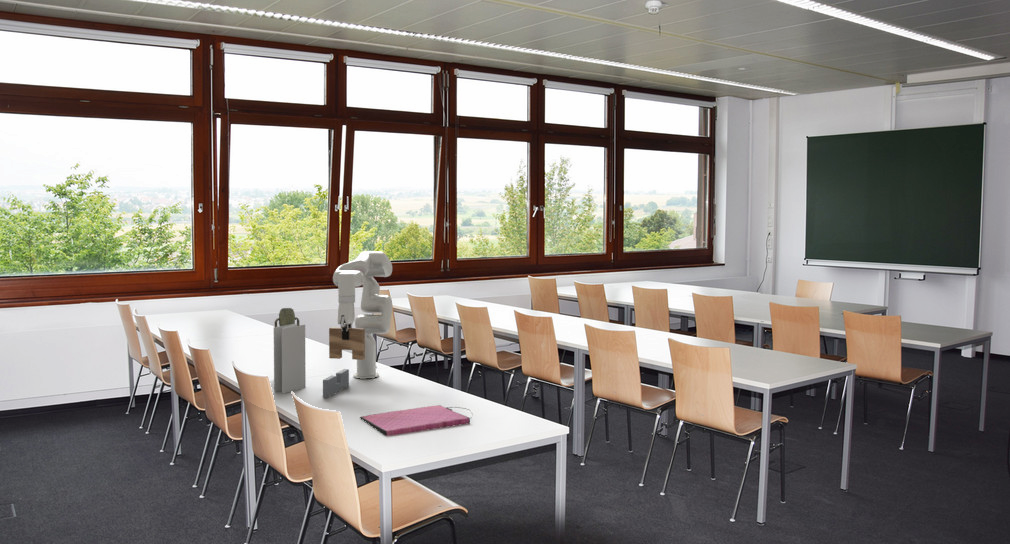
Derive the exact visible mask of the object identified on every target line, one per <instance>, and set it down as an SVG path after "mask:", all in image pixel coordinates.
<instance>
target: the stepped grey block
mask: <svg viewBox="0 0 1010 544" xmlns="http://www.w3.org/2000/svg"><path fill="white" fill-rule="evenodd" d="M347 386H348V387H349V386H350V369H347V368H343V369H342V370H339V371H337V372H336V373H335V375H330V376H327V377H326V378H324V379H322V398H323V397H324V398H325V399H328V397H329V398H330V397H332V396H334V395H336V394H337V393H339V392H341V391H342V389H343V390H344V389H346V388H348V387H347ZM345 387H346V388H345ZM340 390H341V391H340ZM335 393H336V394H335Z"/></svg>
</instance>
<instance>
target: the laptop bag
mask: <svg viewBox="0 0 1010 544" xmlns="http://www.w3.org/2000/svg"><path fill="white" fill-rule="evenodd" d="M452 408H453V406H450V407H445V406H442V405H440V404H439V405H431V406H430V405H429V406H422V407H416V408H410V409H409V408H408V409H401V410H395V411H388V412H386V411H385V412H382V413H381V412H379V413H375V414H374V413H373V414H369V415H362V416H360V417H359V419H360V418H361V419H360V420H362V419H363V420H364V421H363V420H362V421H363V422H365V421H366V422H367V423H366V422H365V423H366V424H368V423H369V424H370V425H369V424H368V425H369V426H370V427H372V426H373V427H372V428H374V429H375V428H376V429H377V431H378V432H379V431H380V433H381V434H382V433H383V434H382V435H384V436H386V437H388V435H389V436H394V435H401V434H407V433H415V431H416V432H422V431H421V430H423V431H428V430H427V429H429V430H433V428H436V429H440V427H442V428H446V427H447V426H449V427H454V426H453V425H455V426H460V425H459V424H462V425H466V423H468V424H470V423H471V417H468V416H467V415H463V414H461V413H459V412H456V411H454V410H453V409H452ZM455 408H457V409H461V407H460V406H459V407H458V406H455ZM462 409H464V410H469V411H470V408H466V407H465V408H464V407H462ZM471 414H472V416H474V415H473V413H471ZM447 428H448V427H447ZM376 429H375V430H376Z"/></svg>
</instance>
